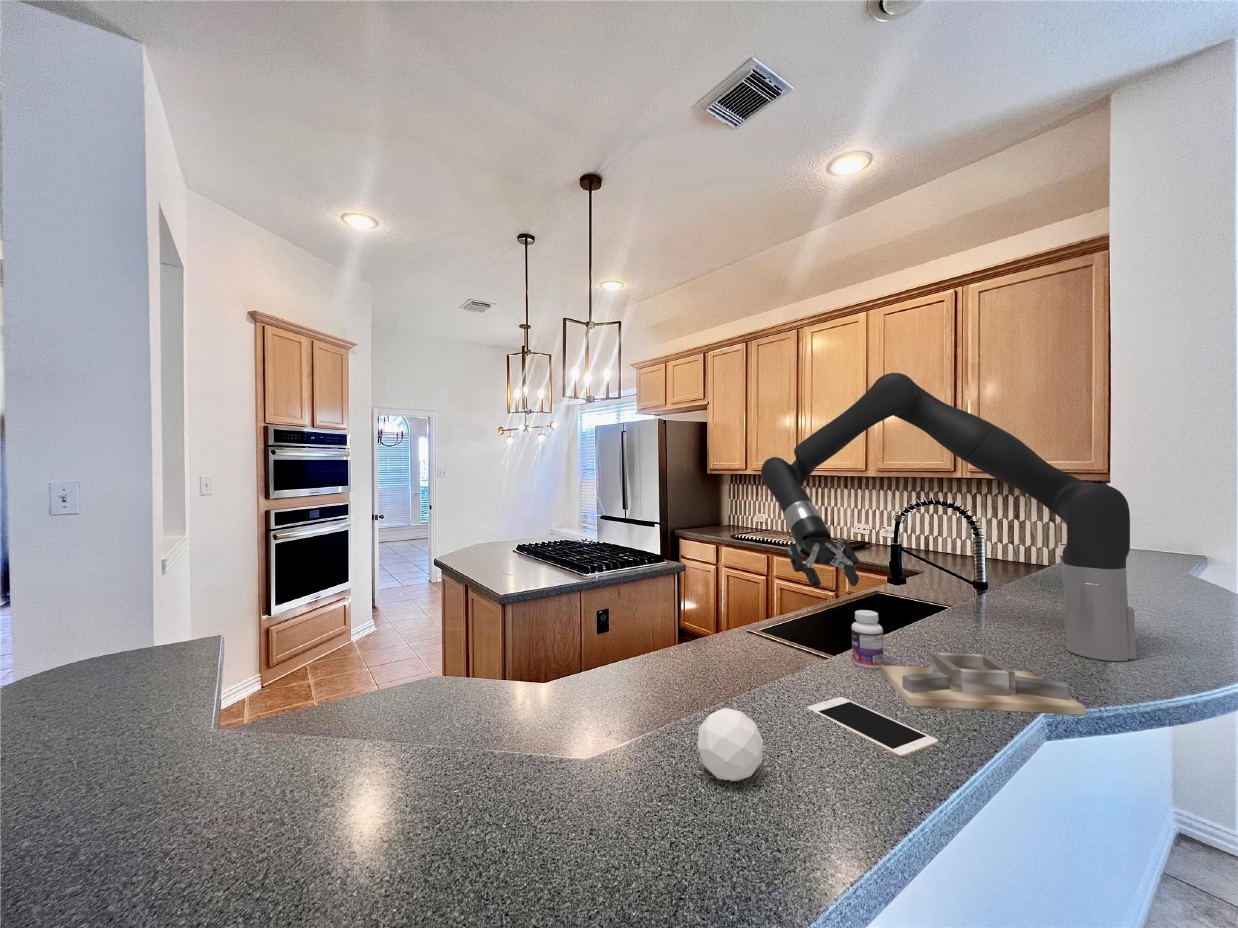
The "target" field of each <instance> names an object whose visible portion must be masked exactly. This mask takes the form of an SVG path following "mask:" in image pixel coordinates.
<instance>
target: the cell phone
mask: <svg viewBox="0 0 1238 928" xmlns="http://www.w3.org/2000/svg"><path fill="white" fill-rule="evenodd" d="M807 708H808V709H809V710H808V709H807ZM806 709H807V710H808V711H810V710H812V711H814V712H815V713H814V712H813V713H814V714H816V713H817V714H816V715H818V714H820V715H821V716H820V715H819V716H820V717H822V716H824V717H826V718H827V719H826V718H825V719H826V720H828V719H830V720H831V721H830V720H829V721H830V722H832V721H833V722H832V723H834V722H835V723H834V724H836V723H837V724H836V725H838V726H840V727H842V726H843V727H842V728H844V729H845V728H846V731H847V730H848V731H850V732H851V733H854V735H855V734H856V735H858V736H859V737H861V738H863V739H866V740H867V741H869V742H872V743H873V744H875V745H877V746H878V747H881V748H883V749H885V750H887V751H889V752H891V753H892V754H895V755H896V756H899V757H904V756H907V755H910V754H913V753H915V752H919V751H921V750H923V749H925V748H928V747H932V746H934V745H937V744H938V743H939V740H938V739H937V738H935V737H933V736H931V735H928V734H926V733H924V732H922V731H920V730H917V729H915V728H913V727H911V726H908V725H906V724H905V723H902V722H899V721H898V720H895V719H893V718H891V717H888V716H886V715H883V714H882V713H880V712H877V711H875V710H872V709H870V708H868V707H866V706H864V705H861V704H859V703H857V702H854V701H852V700H850V699H848V698H845V697H843V696H839V697H836V698H832V699H829V700H825V701H821V702H819V703H815V704H812V705H808V706H807V707H806ZM812 711H811V712H812ZM824 717H823V718H824Z"/></svg>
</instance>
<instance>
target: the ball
mask: <svg viewBox="0 0 1238 928" xmlns="http://www.w3.org/2000/svg"><path fill="white" fill-rule="evenodd" d="M697 732H698V734H697V735H698V736H697V748H698V751H699V752H698V753H699V754H700V758H701V760H702V765H703V766H704V767H705V768H706V769H707V770H708V771H709V772H710V773H712V775H714V777H715V778H716V779H718V780H722V779H723V780H722V781H727V780H730V781H729V782H732V781H737V782H739V780H740V781H742V780H744V779H746V778H749V777H752V776H753V774H754V773H755V771H756V770H757V768H758V767H759V765H761V763H762V761H763V750H764V741H763V738H762V735H761V733H760V731H759V728H758V726H757V723H756V722H755V721H753V719H752V718H750V717H749V716H748V715H746V714H745V713H744V712H742V711H740V710H735V709H731V708H726V707H723V708H721V709H719V710H717V711H715V712H713V713H711V714H709V715H708V716H707V717H706V718H705V719H704V721H703V722H702V723H701V725H700V726H699V727H698V731H697Z"/></svg>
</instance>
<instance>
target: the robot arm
mask: <svg viewBox="0 0 1238 928" xmlns="http://www.w3.org/2000/svg"><path fill="white" fill-rule="evenodd" d="M892 416H893V417H896V418H899V419H900V420H902V421H904V422H907V423H908V424H911V425H913V426H915V427H916V428H917V429H920V430H921V431H922V432H923V433H926V434H927V435H928V436H930V437H931V438H932V439H933V440H934V441H936V442H937V443H938V444H940V445H941V446H942V447H944V448H945V449H946V450H948V451H949V452H950V453H951V454H953V455H954V456H956V457H958V458H959V459H961V460H962V461H964V462H966V463H968V464H969V465H971V466H972V467H974V468H976V469H978V470H980V471H981V472H983V473H985V474H987V475H988V476H991V477H993V478H994V479H996V480H997V481H1000V482H1002V483H1004V484H1006V485H1009V486H1011V487H1014V488H1015V489H1017V490H1020V491H1021V492H1023V493H1025V494H1027V495H1029V496H1030V497H1031V498H1032V499H1035V501H1037V502H1038V503H1039V504H1041V505H1043V506H1044V507H1046V508H1047V509H1048V510H1049V511H1051V512H1053V514H1054V515H1056V516H1057V517H1059V518H1060V519H1061V520H1063V521H1064V522H1065V523H1066V531H1067V532H1066V537H1067V538H1066V543H1065V546H1064V548H1063V550H1062V577H1063V579H1062V580H1063V598H1064V600H1063V601H1064V620H1065V621H1064V622H1065V623H1064V624H1065V626H1064V627H1065V647H1066V650H1067V651H1068V652H1070V653H1072V654H1075V655H1077V656H1081V657H1084V658H1085V657H1086V658H1089V659H1094V660H1098V661H1099V660H1101V661H1108V662H1109V661H1110V662H1126V661H1129V660H1137V643H1136V641H1137V640H1136V624H1135V623H1136V620H1135V609H1134V608H1133V607H1131V606H1129V601H1128V597H1129V596H1128V581H1127V578H1128V577H1127V557H1128V556H1129V553H1130V550H1131V513H1130V508H1129V507H1130V506H1129V503H1128V500H1127V498H1126V497H1125V495H1124V494H1123V493H1122V492H1121V491H1120V490H1119V489H1117V488H1115V487H1114V486H1111V485H1107V484H1103V483H1096V482H1094V483H1092V482H1087V481H1086V480H1082V479H1081V478H1078V477H1075V476H1073V475H1071V474H1070V473H1067V472H1065V471H1063V470H1061V469H1060V468H1057V467H1055V466H1053V465H1052V464H1050V463H1048V462H1047V461H1046V460H1044V459H1043V458H1042V457H1041V456H1039V455H1038V453H1036V452H1035V451H1034V450H1032V449H1031V448H1030V447H1029V446H1028V445H1027V444H1026V443H1024V442H1023V441H1021V440H1020V439H1019V438H1017V437H1016V436H1014V435H1013V434H1011V433H1009V431H1006V430H1004V429H1002V428H1001V427H999V426H998V425H995V424H993V423H991V422H989V421H988V420H985V419H984V418H981V417H979V416H977V415H975V414H973V413H970V412H968V411H965V410H963V409H959V408H957V407H954V406H952V405H949V404H948V403H945V402H944V401H942V400H939V398H937V397H936V396H934V395H932V394H930V393H929V392H928V391H926V390H925V389H923V387H921V386H919V385H918V384H917V383H916V382H914V380H913V379H912V378H911V377H909V376H908V375H906V374H903V373H900V372H890V373H886V374H883V375H882V376H880V377H878V378H877V379H876V381H874V383H873V384H872V385H871V387H869V388H868V389H867V391H866V392H865V393H864V394H863V395H862V396H861V397H860V398H859V399H858V400H857V401H855V403H853V404H852V405H851V406H850V407H848V408H847V409H846V410H845V411H843V412H842V413H841V414H840V415H838V416H837V417H835V418H834V419H832V420H831V421H830V422H828V423H827V424H825V425H824V426H822V427H821V428H819V429H818V430H816V431H815V432H814V433H812V434H810V435H809V436H808V437H807V438H805V439H804V440H802V441H801V442H800V443H799V444H797V446H795V447H794V449H793V454H794V456H795V460H793V462H792V463H789V462H787V461H786V460H785V459H784V458H780V457H778V456H772V457H770V458H768V459H766V460H765V461H764V462H763V464H762V465H761V471H760V473H761V478H762V480H763V482H764V484H765V486H766V487H767V489H768V490H769V491H770V493H771V495H772V496H773V497H774V498H775V500H776V501H777V503H778V506H779V507H780V509H781V511H782V513H783V515H784V517H785V518H784V519H785V521H786V524H787V526H788V529H789V531H790V533H791V535H792V537H793V539H794V542H795V543H794V542H792V543H790V544H789V547H788V548H787V550H786V553H787V556H788V558H789V560H790V563H791V565H792V569H793V570H794V572H796V573H800V572H801V573H803V574H804V575H805V576H806V579H807V581H808V582H809V585H810V586H811V587H813V589H819V588H820V586H821V584H822V582H821V580H820V578H819V575H818V573H817V571H816V569H815V567H813V566H814V563H815V564H816V565H821V564H826V565H828V564H831V565H832V566H833V567H835V568H837V567H838V568H839V569H841V570H842V571H844V572H843V573H844V575H845V577H846V579H847V581H848V583H849V585H850V587H856V586H857V585H858V583H859V581H860V576H859V575H858V573H857V571H856V570H855V569H856V568H857V566H858V564H859V563H860V559H859V558H858V556H857V555H856V553H855V551H854V550H853V549H852V547H851V545H850V544H849V542H848V541H846V540H843V541H842V542H841V543H836V542H834V541H833V539H832V537H831V532H830V530H829V528H828V526H827V525H826V523H825V522H824V520H823V518H822V516H821V514H820V513H819V510H818V509H817V507H815V505H814V503H813V501H812V500H811V498H810V496H809V494H808V492H807V491H806V490H805V488H803V487H802V484H803V483H804V482H806V480H807V479H808V478H809V477H810V475H812V473H813V472H814V471H815V469H816V468H817V467H819V466H821V465H822V464H824V463H825V462H827V461H828V460H830V459H831V458H832V457H834V456H835V455H836V454H837V453H839V452H840V451H841V450H843V449H844V448H845V447H846V446H847V445H848V444H850V443H851V442H852V441H854V440H855V439H856V438H857V437H858V436H859V435H862V433H865V431H867V430H869V428H871V427H873V426H874V425H875V426H876V424H878V423H880V422H882V421H884V420H886V419H888V418H890V417H892ZM800 554H801V555H803V556H804V557H806V560H805V563H804V562H803V559H802V557H801V555H800ZM835 557H837V559H835ZM1128 659H1129V660H1128Z"/></svg>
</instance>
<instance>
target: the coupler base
mask: <svg viewBox="0 0 1238 928" xmlns="http://www.w3.org/2000/svg"><path fill="white" fill-rule="evenodd" d="M931 655H932V656H931V658H932V662H931V663H932V667H928V666H927V667H923V666H921V667H920V666H902V665H901V666H900V665H899V666H898V665H897V666H895V665H884V666H880V668H879V669H880V671H879V672H880V674H882V676H883V678H885V680H887V681H888V683H889V684H890V685H891V686H892V687H893V688H894V689H895V691H896V692H897V693H898V694H899V695H900V697H901V698H902V699H903V700H904V701H905V702H906V703H907V705H908V706H910V707H925V708H926V707H929V708H947V709H948V708H949V709H965V710H966V709H969V710H970V709H971V710H986V711H988V710H989V711H1003V712H1004V711H1005V712H1024V713H1025V712H1026V713H1027V712H1028V713H1043V714H1060V715H1061V714H1063V715H1082V716H1084V715H1087V714H1086V711H1087V710H1086V706H1085V705H1083V704H1082V703H1080V702H1078V701H1077V700H1076V699H1074V698H1072V697H1071V696H1069V689H1068V688H1069V687H1068V686H1067V684H1066V682H1064V681H1057V680H1050V679H1043V678H1042V679H1041V678H1040V677H1038V676H1037V675H1035V674H1033V673H1032V672H1031V671H1028V670H1027V671H1023V670H1012V669H1011V668H1009V667H1008V666H1006V665H1004V664H1003V663H1002V662H1000V661H999V660H996V659H995V658H994V657H992V656H990V655H988V654H987V655H985V654H984V655H982V654H979V653H960V652H959V653H958V652H957V653H955V652H938V653H931Z"/></svg>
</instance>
